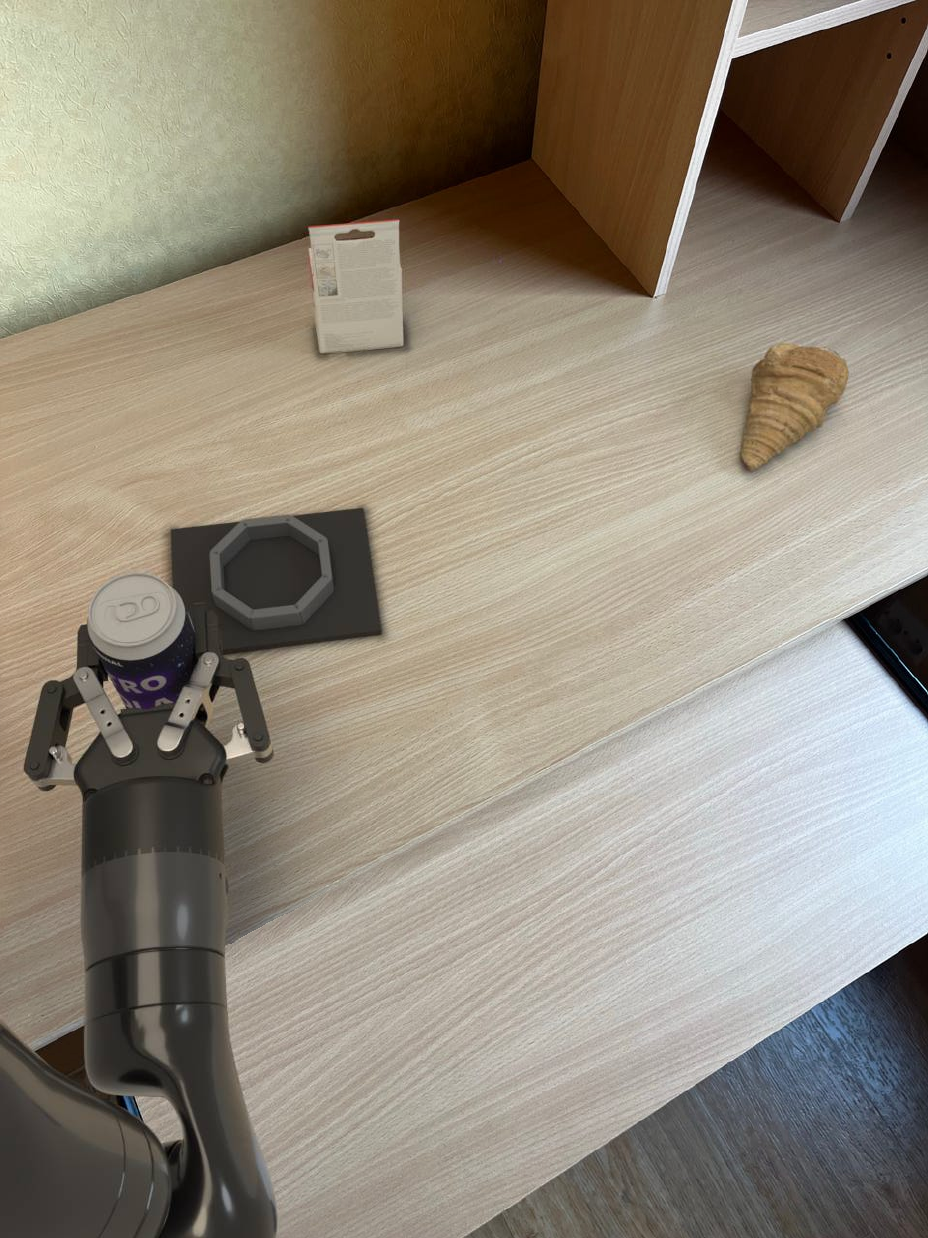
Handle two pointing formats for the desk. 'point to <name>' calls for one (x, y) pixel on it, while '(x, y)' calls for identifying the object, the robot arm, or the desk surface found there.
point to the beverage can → (142, 638)
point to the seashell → (789, 398)
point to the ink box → (357, 287)
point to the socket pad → (280, 578)
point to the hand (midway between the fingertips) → (149, 615)
